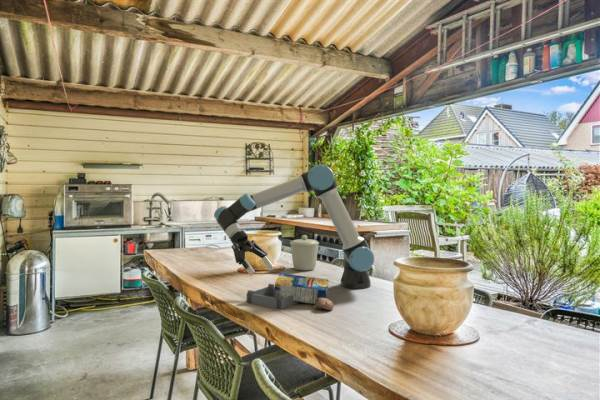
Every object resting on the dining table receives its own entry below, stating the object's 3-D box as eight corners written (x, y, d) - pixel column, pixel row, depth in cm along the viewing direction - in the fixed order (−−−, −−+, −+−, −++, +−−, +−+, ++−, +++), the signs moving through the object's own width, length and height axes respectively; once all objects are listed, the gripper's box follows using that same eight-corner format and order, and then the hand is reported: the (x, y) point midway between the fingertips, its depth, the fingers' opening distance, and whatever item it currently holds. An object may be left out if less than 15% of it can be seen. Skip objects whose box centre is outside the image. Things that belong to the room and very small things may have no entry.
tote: (303, 300, 180) (303, 288, 180) (282, 309, 167) (282, 296, 167) (269, 294, 191) (269, 283, 191) (246, 302, 177) (246, 290, 177)
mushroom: (314, 313, 162) (334, 308, 162) (311, 297, 165) (330, 293, 165) (316, 315, 169) (334, 310, 169) (312, 300, 172) (331, 295, 172)
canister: (319, 272, 243) (319, 236, 242) (289, 272, 243) (289, 236, 242) (318, 266, 261) (318, 233, 260) (290, 266, 261) (290, 233, 261)
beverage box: (274, 283, 173) (326, 290, 171) (279, 272, 184) (328, 279, 181) (273, 298, 175) (325, 305, 172) (278, 286, 185) (327, 293, 183)
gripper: (249, 237, 202) (274, 271, 194) (213, 243, 181) (239, 281, 173) (258, 227, 199) (283, 261, 191) (222, 231, 178) (248, 270, 170)
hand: (262, 271), depth 182 cm, fingers open, 13 cm apart
